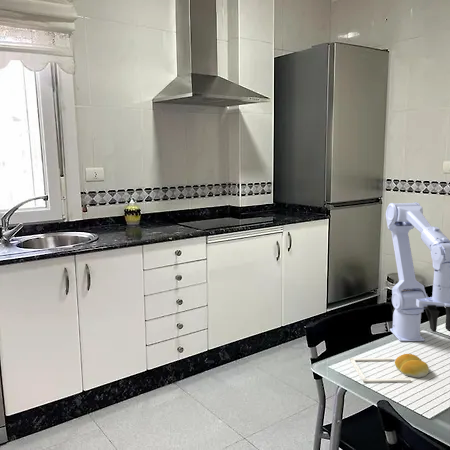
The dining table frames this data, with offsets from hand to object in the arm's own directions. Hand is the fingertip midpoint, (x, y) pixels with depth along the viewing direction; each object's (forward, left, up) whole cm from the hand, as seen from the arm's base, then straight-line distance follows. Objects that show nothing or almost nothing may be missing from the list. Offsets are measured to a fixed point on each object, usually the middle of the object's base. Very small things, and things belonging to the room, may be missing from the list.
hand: (440, 330), depth 130 cm
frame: (+5, -19, -9) cm, 22 cm away
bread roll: (+5, -10, -10) cm, 15 cm away
